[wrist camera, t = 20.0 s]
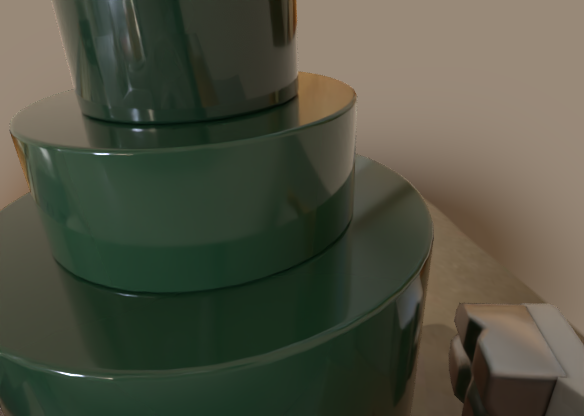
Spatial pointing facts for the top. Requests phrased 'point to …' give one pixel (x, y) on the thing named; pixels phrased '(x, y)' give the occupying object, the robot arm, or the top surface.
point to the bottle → (204, 228)
